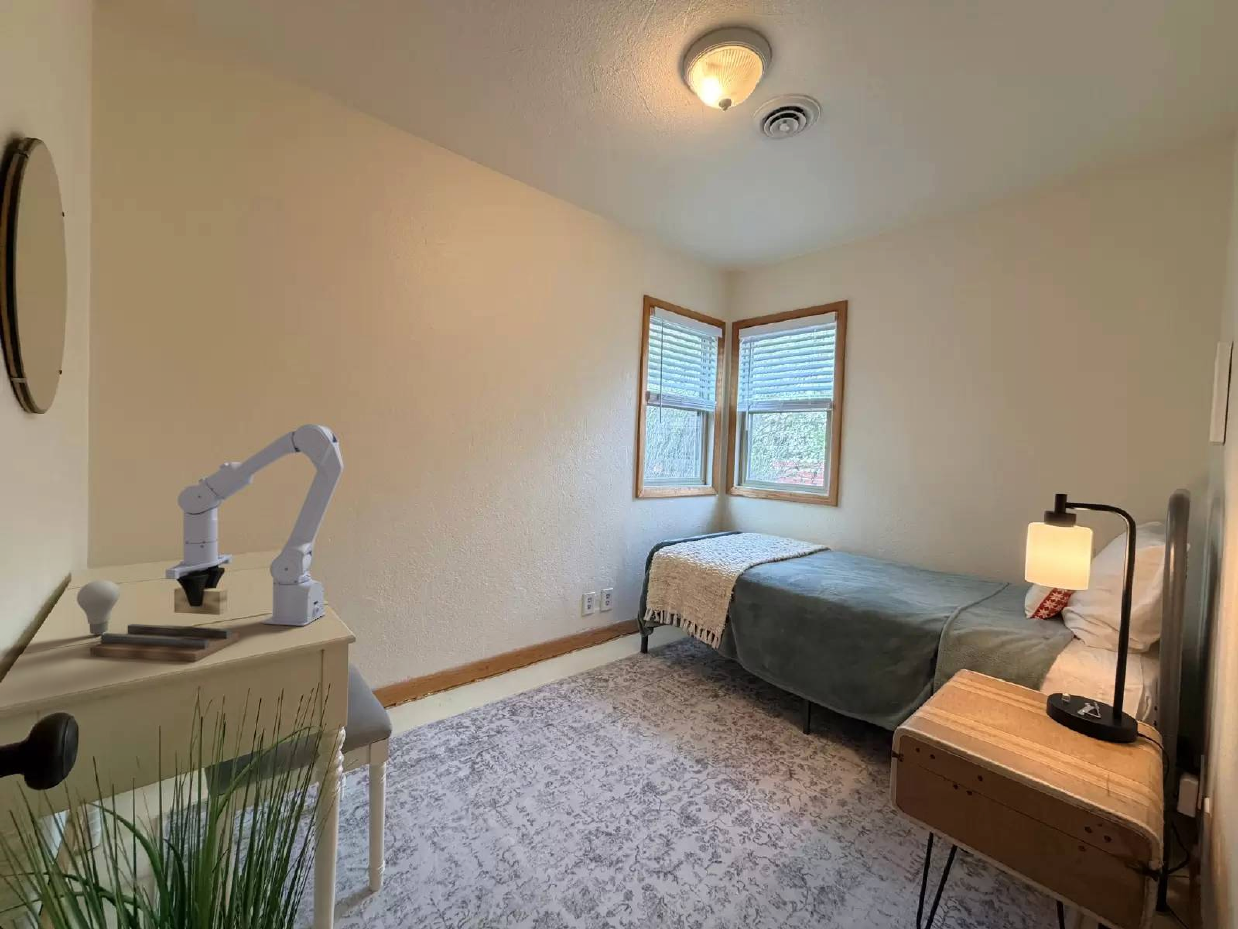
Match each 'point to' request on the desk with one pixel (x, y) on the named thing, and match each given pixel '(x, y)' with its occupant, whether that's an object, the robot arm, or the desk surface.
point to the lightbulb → (98, 603)
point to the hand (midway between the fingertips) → (200, 604)
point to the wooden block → (211, 602)
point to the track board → (164, 642)
